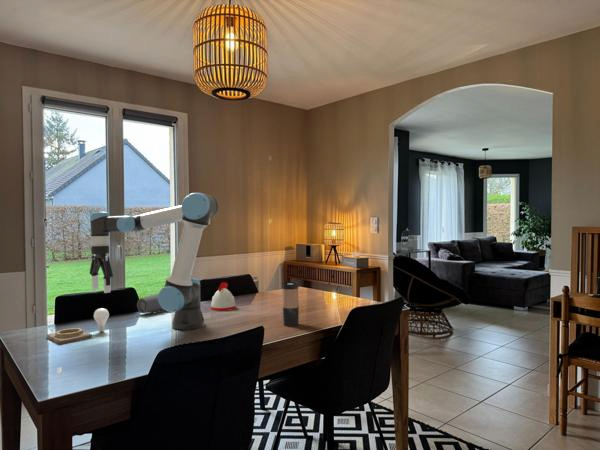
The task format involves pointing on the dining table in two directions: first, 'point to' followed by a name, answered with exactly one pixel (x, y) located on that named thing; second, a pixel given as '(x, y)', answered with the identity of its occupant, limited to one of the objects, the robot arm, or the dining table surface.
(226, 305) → the white dome
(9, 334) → the dining table surface
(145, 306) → the bluetooth speaker
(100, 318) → the lightbulb
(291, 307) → the travel mug
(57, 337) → the socket
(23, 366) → the dining table surface
